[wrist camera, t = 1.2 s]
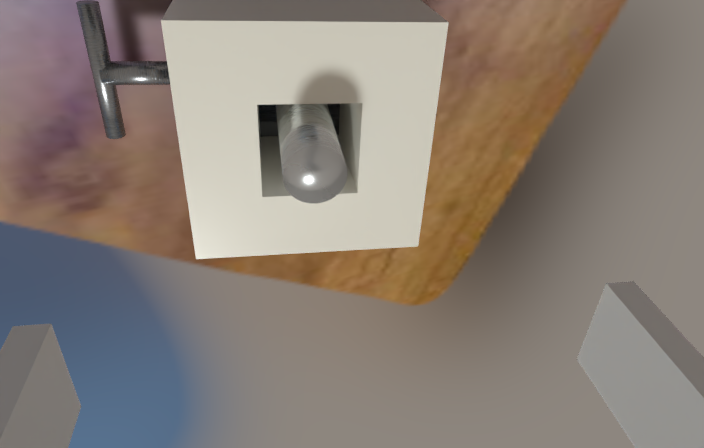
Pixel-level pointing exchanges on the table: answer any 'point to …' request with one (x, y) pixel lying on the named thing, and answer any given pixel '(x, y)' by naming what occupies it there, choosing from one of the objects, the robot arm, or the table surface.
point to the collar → (303, 88)
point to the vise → (275, 120)
